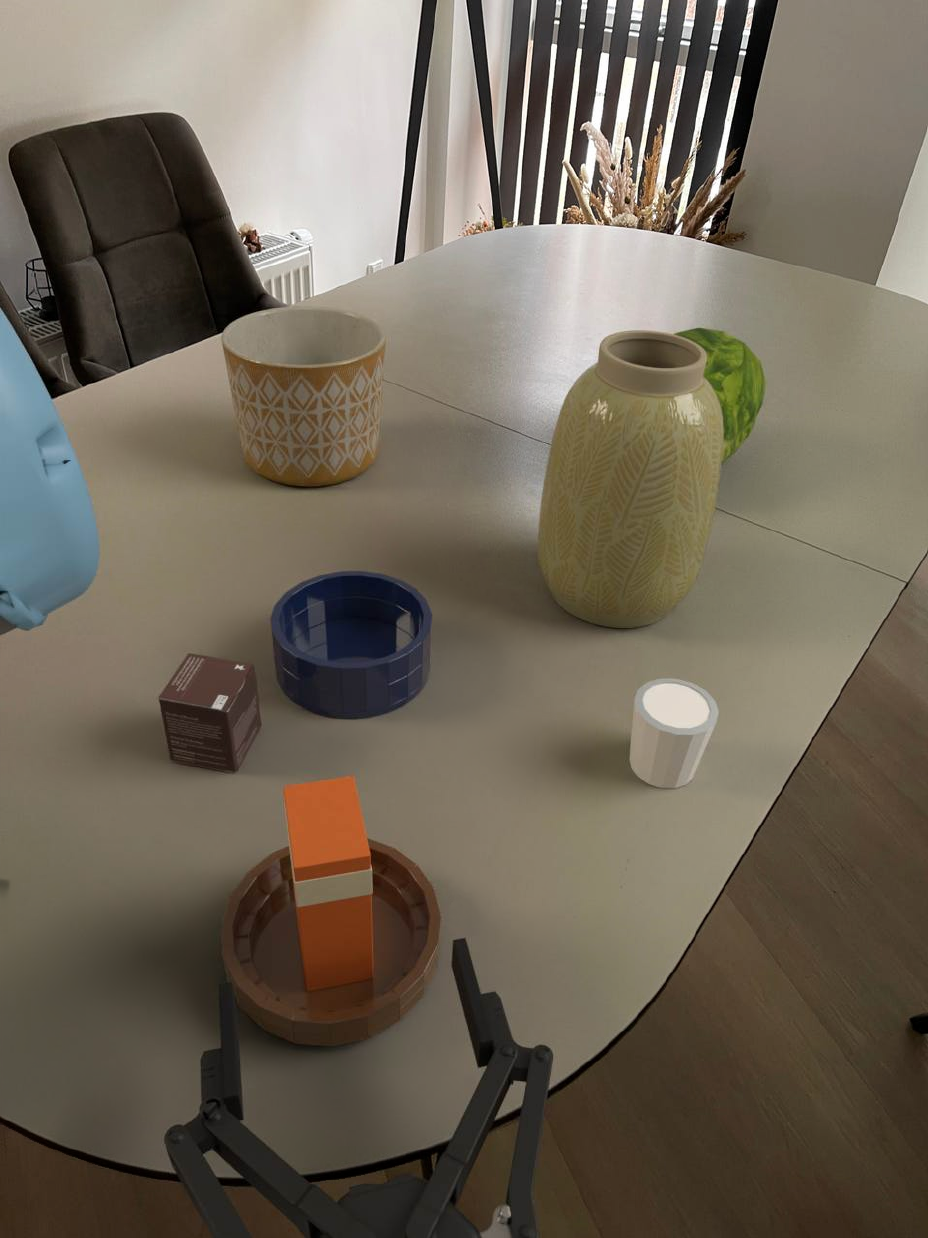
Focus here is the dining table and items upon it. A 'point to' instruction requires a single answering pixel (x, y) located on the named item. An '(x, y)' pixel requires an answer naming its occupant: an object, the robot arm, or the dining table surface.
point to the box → (211, 712)
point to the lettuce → (731, 383)
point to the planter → (306, 392)
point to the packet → (330, 881)
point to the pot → (352, 644)
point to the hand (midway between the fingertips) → (345, 973)
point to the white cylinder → (670, 731)
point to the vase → (631, 481)
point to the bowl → (272, 959)
